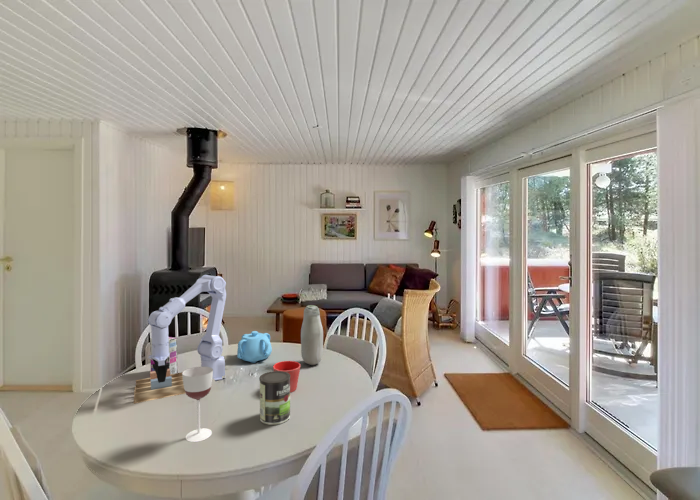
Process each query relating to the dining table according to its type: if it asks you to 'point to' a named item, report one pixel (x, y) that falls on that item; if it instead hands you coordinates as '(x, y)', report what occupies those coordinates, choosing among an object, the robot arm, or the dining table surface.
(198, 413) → the wineglass
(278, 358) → the dining table surface
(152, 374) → the salmon pink block
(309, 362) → the grey bottle
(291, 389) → the flower pot
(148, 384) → the dish rack
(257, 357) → the decorative pot
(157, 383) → the slate plate
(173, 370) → the candy bar box
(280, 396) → the coffee can
